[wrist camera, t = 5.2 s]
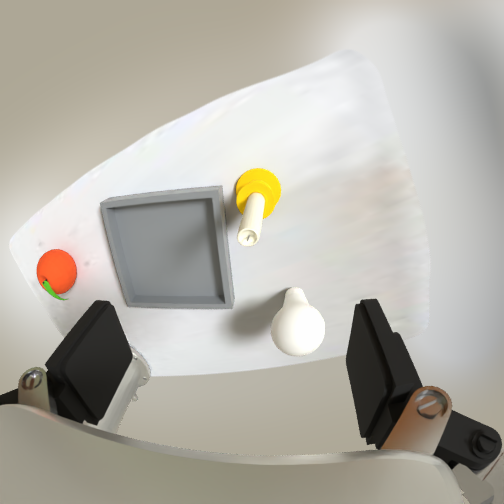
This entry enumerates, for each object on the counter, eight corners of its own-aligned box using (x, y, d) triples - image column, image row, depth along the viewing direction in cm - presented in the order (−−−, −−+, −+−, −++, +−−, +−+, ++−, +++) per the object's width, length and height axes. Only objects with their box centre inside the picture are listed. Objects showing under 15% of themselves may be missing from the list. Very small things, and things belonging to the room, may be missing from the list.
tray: (234, 298, 40) (232, 308, 37) (134, 297, 41) (127, 306, 39) (222, 185, 33) (218, 190, 31) (109, 197, 34) (100, 202, 32)
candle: (289, 196, 33) (301, 252, 19) (252, 219, 35) (237, 287, 20) (265, 159, 31) (258, 186, 17) (227, 183, 33) (192, 229, 19)
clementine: (95, 277, 40) (71, 302, 34) (72, 290, 42) (49, 313, 35) (68, 235, 37) (41, 254, 31) (47, 251, 39) (21, 271, 33)
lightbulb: (325, 288, 38) (340, 343, 28) (295, 317, 40) (300, 374, 30) (292, 263, 37) (298, 315, 27) (262, 294, 39) (258, 350, 29)
